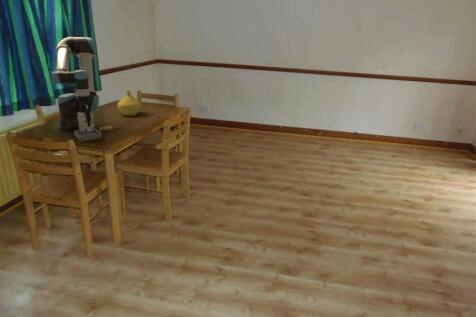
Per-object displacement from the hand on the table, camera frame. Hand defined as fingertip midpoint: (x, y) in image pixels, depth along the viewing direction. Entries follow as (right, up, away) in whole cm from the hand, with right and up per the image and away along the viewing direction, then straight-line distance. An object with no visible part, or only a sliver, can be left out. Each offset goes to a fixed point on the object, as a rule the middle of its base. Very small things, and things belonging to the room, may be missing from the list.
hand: (87, 129), depth 242 cm
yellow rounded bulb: (+10, +17, +60) cm, 63 cm away
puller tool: (+6, +1, +18) cm, 19 cm away
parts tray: (0, -5, +2) cm, 5 cm away
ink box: (0, -1, 0) cm, 1 cm away
